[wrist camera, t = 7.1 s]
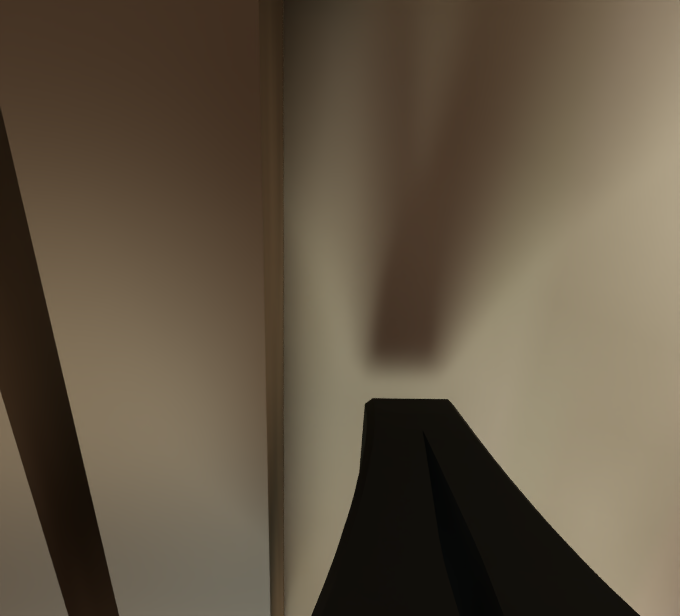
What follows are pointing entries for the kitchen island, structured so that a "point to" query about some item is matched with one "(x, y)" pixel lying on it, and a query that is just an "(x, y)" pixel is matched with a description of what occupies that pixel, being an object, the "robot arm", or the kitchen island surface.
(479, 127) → the kitchen island surface
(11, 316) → the fixed tong arm
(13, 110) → the bar
